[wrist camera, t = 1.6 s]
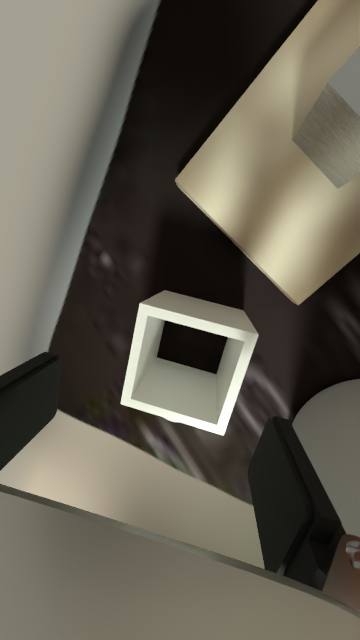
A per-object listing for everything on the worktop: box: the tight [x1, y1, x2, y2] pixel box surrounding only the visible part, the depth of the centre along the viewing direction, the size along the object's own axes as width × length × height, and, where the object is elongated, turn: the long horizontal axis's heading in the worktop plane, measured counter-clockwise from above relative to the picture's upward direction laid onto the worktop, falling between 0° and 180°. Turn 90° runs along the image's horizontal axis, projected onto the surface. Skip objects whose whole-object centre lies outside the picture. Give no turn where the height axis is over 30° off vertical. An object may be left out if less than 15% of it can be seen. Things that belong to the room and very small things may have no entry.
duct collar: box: [121, 290, 258, 436], centre depth 18 cm, size 7×10×7 cm
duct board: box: [175, 0, 360, 305], centre depth 15 cm, size 13×18×2 cm
